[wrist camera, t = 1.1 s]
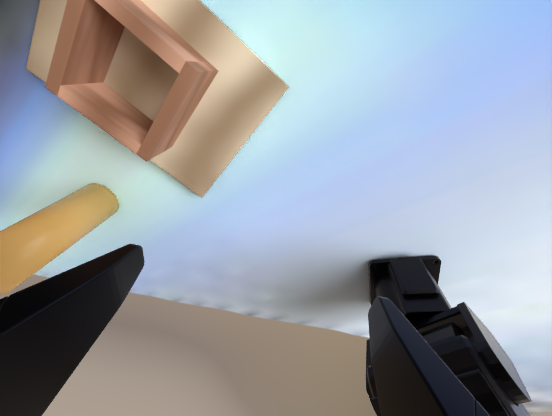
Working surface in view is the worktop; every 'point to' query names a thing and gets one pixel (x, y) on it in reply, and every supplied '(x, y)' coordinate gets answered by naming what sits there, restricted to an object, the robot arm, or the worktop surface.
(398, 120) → the worktop surface
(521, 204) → the worktop surface
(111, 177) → the worktop surface
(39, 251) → the orange tapered piece
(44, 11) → the beige board with box
